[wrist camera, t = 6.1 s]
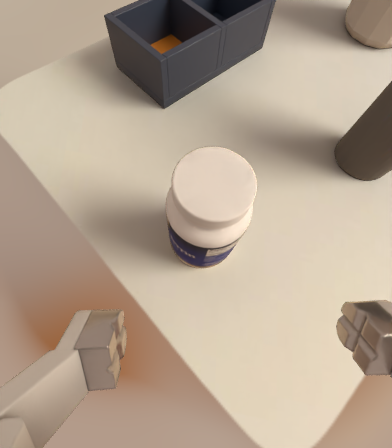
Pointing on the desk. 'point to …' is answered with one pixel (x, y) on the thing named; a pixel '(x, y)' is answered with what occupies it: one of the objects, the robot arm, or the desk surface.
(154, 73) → the rack
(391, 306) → the robot arm
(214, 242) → the pill bottle
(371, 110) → the bottle
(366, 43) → the jar
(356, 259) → the desk surface
